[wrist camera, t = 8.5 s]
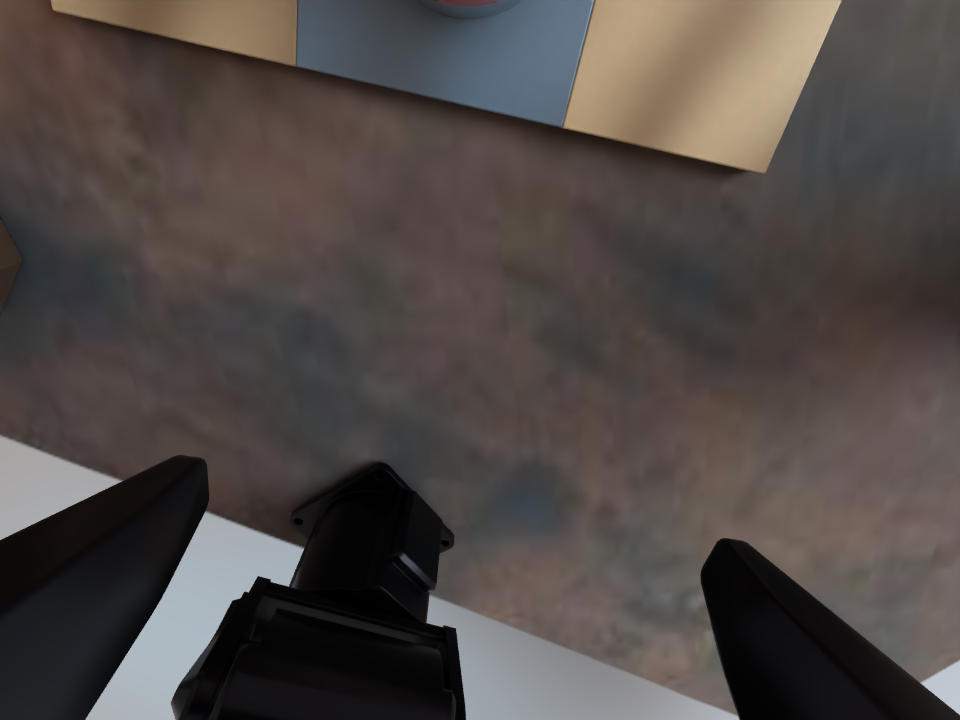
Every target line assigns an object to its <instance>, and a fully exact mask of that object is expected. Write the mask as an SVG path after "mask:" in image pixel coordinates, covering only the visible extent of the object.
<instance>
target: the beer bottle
mask: <svg viewBox="0 0 960 720" xmlns="http://www.w3.org/2000/svg"><path fill="white" fill-rule="evenodd" d="M22 260H23V259H22V257H21V255H20V253H19V251H18V249H17V247H16V246H15V244H14V242H13V240H12V238H11V236H10V234H9V233H8V231H7V229H6V227H5V225H4V223H3V221H2V219H1V218H0V313H1V311H2V310H3V308H4V306H5V303H6V301H7V298H8V295H9V293H10V290H11V288H12V285H13V283H14V280H15V278H16V275H17V272H18V270H19V267H20V265H21V262H22Z"/></svg>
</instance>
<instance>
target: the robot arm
mask: <svg viewBox="0 0 960 720" xmlns="http://www.w3.org/2000/svg"><path fill="white" fill-rule="evenodd" d="M378 472H383V473H384V475H380V474H379V473H378ZM208 501H209V487H208V472H207V464H206V462H205V460H204V459H202V458H198V457H191V456H185V455H177V456H174V457H172V458H170V459H168V460H166V461H164V462H162V463H159V464H157V465H155V466H153V467H151V468H149V469H147V470H145V471H143V472H141V473H139V474H137V475H135V476H132V477H130V478H128V479H126V480H124V481H122V482H120V483H118V484H116V485H114V486H112V487H110V488H108V489H105V490H103V491H101V492H99V493H97V494H95V495H93V496H91V497H89V498H87V499H85V500H83V501H81V502H79V503H77V504H74V505H72V506H70V507H68V508H66V509H64V510H62V511H60V512H58V513H56V514H54V515H52V516H50V517H47V518H45V519H43V520H41V521H39V522H37V523H35V524H33V525H31V526H29V527H27V528H25V529H22V530H20V531H18V532H16V533H14V534H12V535H10V536H8V537H6V538H4V539H2V540H0V720H85V719H86V717H87V716H88V714H89V713H90V711H91V710H92V708H93V706H94V705H95V703H96V702H97V700H98V698H99V697H100V695H101V694H102V692H103V691H104V689H105V688H106V686H107V684H108V683H109V681H110V680H111V678H112V676H113V675H114V673H115V672H116V670H117V668H118V667H119V665H120V664H121V662H122V661H123V659H124V657H125V656H126V654H127V653H128V651H129V650H130V648H131V646H132V645H133V643H134V642H135V640H136V639H137V637H138V635H139V634H140V632H141V631H142V629H143V628H144V626H145V624H146V623H147V621H148V620H149V618H150V616H151V615H152V613H153V612H154V610H155V608H156V607H157V605H158V603H159V602H160V600H161V598H162V596H163V594H164V592H165V591H166V589H167V587H168V585H169V583H170V581H171V579H172V577H173V575H174V573H175V571H176V569H177V567H178V565H179V563H180V561H181V558H182V557H183V555H184V553H185V551H186V549H187V547H188V545H189V543H190V541H191V539H192V537H193V535H194V533H195V531H196V528H197V527H198V525H199V523H200V521H201V519H202V517H203V515H204V513H205V511H206V508H207V505H208ZM299 518H301V519H299ZM289 522H290V524H291V525H292V526H293V527H294V528H295V529H296V530H297V531H299V532H300V533H301V534H302V535H303V536H304V537H305V538H307V539H308V541H307V544H306V546H305V548H304V551H303V553H302V556H301V558H300V561H299V563H298V565H297V568H296V570H295V573H294V575H293V578H292V580H291V583H290V585H289V587H288V586H284V585H279V584H276V583H272V582H271V580H270V579H267V578H263V577H259V576H258V577H257V579H256V581H255V582H254V584H253V586H252V588H251V590H250V591H249V593H248V592H244V593H243V595H242V597H241V598H240V599H237V600H234V601H232V603H231V604H230V607H229V608H228V610H227V612H226V614H225V616H224V618H223V620H222V622H221V624H220V626H219V628H218V630H217V631H216V633H215V635H214V637H213V638H212V640H211V641H210V643H209V644H208V646H207V647H206V649H205V650H204V652H203V653H202V654H201V655H200V657H199V658H198V660H197V661H196V662H195V664H194V665H193V666H192V668H191V669H190V670H189V672H188V673H187V675H186V676H185V677H184V679H183V680H182V681H181V683H180V684H179V686H178V688H177V690H176V692H175V694H174V696H173V699H172V701H171V706H172V709H173V713H174V716H175V719H176V720H466V712H465V701H464V693H463V685H462V676H461V668H460V660H459V651H458V643H457V634H456V628H451V627H448V626H443V627H439V626H436V625H431V624H428V623H426V622H427V612H428V602H429V594H430V591H432V590H434V589H435V587H436V583H437V573H438V563H439V554H440V553H442V552H444V551H446V550H448V549H450V548H451V547H453V545H454V535H453V533H452V532H451V531H450V530H449V529H448V528H447V527H446V526H445V525H444V524H443V522H442V519H441V518H440V517H439V516H438V515H437V514H436V513H435V512H434V511H433V510H432V509H431V508H430V507H429V506H428V505H427V503H426V502H425V501H424V500H423V499H422V498H421V497H420V496H419V495H418V494H417V493H416V492H415V491H413V490H411V488H410V487H409V486H408V485H407V484H406V483H405V482H404V481H403V480H402V479H401V478H400V477H399V476H398V475H397V474H396V473H395V471H394V470H393V469H392V468H391V467H390V466H388V465H387V464H384V463H378V464H375V465H374V466H372V467H370V468H368V469H367V470H365V471H363V472H361V473H359V474H358V475H356V476H354V477H352V478H351V479H349V480H347V481H345V482H343V483H342V484H340V485H338V486H336V487H335V488H333V489H331V490H329V491H327V492H326V493H324V494H322V495H320V496H319V497H317V498H315V499H313V500H311V501H310V502H308V503H306V504H304V505H303V506H301V507H299V508H297V509H295V510H294V511H293V512H292V514H291V516H290V518H289ZM444 539H445V540H446V541H445V540H444ZM701 585H702V589H703V593H704V597H705V601H706V605H707V609H708V613H709V617H710V621H711V625H712V629H713V633H714V637H715V641H716V646H717V650H718V654H719V657H720V661H721V665H722V668H723V672H724V675H725V678H726V681H727V684H728V687H729V690H730V693H731V696H732V699H733V702H734V705H735V708H736V711H737V713H738V716H739V719H740V720H960V715H959V714H958V713H956V712H955V711H954V710H953V709H951V708H950V707H949V706H948V705H946V704H945V703H944V702H943V701H941V700H940V699H939V698H938V697H937V696H935V695H934V694H933V693H932V692H930V691H929V690H928V689H927V688H925V687H924V686H923V685H922V684H921V683H919V682H918V681H917V680H916V679H914V678H913V677H912V676H911V675H909V674H908V673H907V672H906V671H905V670H903V669H902V668H901V667H900V666H898V665H897V664H896V663H895V662H893V661H892V660H891V659H890V658H889V657H887V656H886V655H885V654H884V653H882V652H881V651H880V650H879V649H877V648H876V647H875V646H874V645H872V644H871V643H870V642H869V641H868V640H866V639H865V638H864V637H863V636H861V635H860V634H859V633H858V632H856V631H855V630H854V629H853V628H852V627H850V626H849V625H848V624H847V623H845V622H844V621H843V620H842V619H840V618H839V617H838V616H837V615H835V614H834V613H833V612H832V611H831V610H829V609H828V608H827V607H826V606H824V605H823V604H822V603H821V602H819V601H818V600H817V599H816V598H815V597H813V596H812V595H811V594H810V593H808V592H807V591H806V590H805V589H803V588H802V587H801V586H800V585H798V584H797V583H796V582H795V581H794V580H792V579H791V578H790V577H789V576H787V575H786V574H785V573H784V572H782V571H781V570H780V569H779V568H778V567H776V566H775V565H774V564H773V563H771V562H770V561H769V560H768V559H766V558H765V557H764V556H763V555H762V554H760V553H759V552H758V551H757V550H755V549H754V548H753V547H752V546H750V545H749V544H748V543H746V542H744V541H741V540H735V539H729V538H722V539H720V540H719V541H718V542H717V543H716V544H715V546H714V548H713V550H712V551H711V553H710V555H709V556H708V558H707V560H706V562H705V563H704V565H703V567H702V570H701Z"/></svg>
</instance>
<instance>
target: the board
mask: <svg viewBox="0 0 960 720" xmlns="http://www.w3.org/2000/svg"><path fill="white" fill-rule="evenodd" d="M840 3H841V0H522V1H521V2H520V3H518V4H517V5H515V6H514V7H512V8H509V9H507V10H505V11H503V12H501V13H498V14H495V15H492V16H489V17H483V18H476V19H462V18H456V17H450V16H446V15H443V14H440V13H437V12H434V11H432V10H430V9H428V8H426V7H424V6H423V5H421V4H420V3H418V2H417V1H415V0H51V5H52V9H53V10H54V11H56V12H60V13H64V14H68V15H72V16H76V17H80V18H84V19H89V20H93V21H97V22H102V23H106V24H110V25H115V26H119V27H123V28H128V29H132V30H136V31H141V32H145V33H149V34H154V35H158V36H163V37H167V38H171V39H176V40H180V41H184V42H189V43H193V44H197V45H202V46H206V47H210V48H215V49H219V50H223V51H228V52H232V53H236V54H241V55H245V56H249V57H254V58H258V59H263V60H267V61H271V62H276V63H280V64H284V65H289V66H293V67H297V68H302V69H306V70H310V71H315V72H319V73H323V74H328V75H332V76H336V77H341V78H345V79H349V80H354V81H358V82H363V83H367V84H371V85H376V86H380V87H384V88H389V89H393V90H397V91H402V92H406V93H410V94H415V95H419V96H423V97H428V98H432V99H436V100H441V101H445V102H449V103H454V104H458V105H463V106H467V107H471V108H476V109H480V110H484V111H489V112H493V113H497V114H502V115H506V116H510V117H515V118H519V119H523V120H528V121H532V122H536V123H541V124H545V125H549V126H554V127H560V128H562V129H567V130H571V131H576V132H580V133H584V134H589V135H593V136H597V137H602V138H606V139H610V140H615V141H619V142H623V143H628V144H632V145H636V146H641V147H645V148H649V149H654V150H658V151H662V152H667V153H671V154H676V155H680V156H684V157H689V158H693V159H697V160H702V161H706V162H710V163H715V164H719V165H723V166H728V167H732V168H736V169H741V170H745V171H749V172H755V173H760V174H765V172H766V170H767V168H768V166H769V163H770V161H771V159H772V157H773V154H774V152H775V150H776V147H777V145H778V143H779V141H780V138H781V136H782V134H783V132H784V129H785V127H786V125H787V123H788V120H789V118H790V116H791V114H792V111H793V109H794V107H795V104H796V102H797V100H798V98H799V95H800V93H801V91H802V89H803V86H804V84H805V82H806V80H807V77H808V75H809V73H810V70H811V68H812V66H813V64H814V61H815V59H816V57H817V55H818V52H819V50H820V48H821V46H822V43H823V41H824V39H825V36H826V34H827V32H828V30H829V27H830V25H831V23H832V21H833V18H834V16H835V14H836V12H837V9H838V7H839V5H840Z"/></svg>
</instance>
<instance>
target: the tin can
mask: <svg viewBox="0 0 960 720" xmlns="http://www.w3.org/2000/svg"><path fill="white" fill-rule="evenodd" d="M415 1H417V2H418V3H420V4H421V5H423V6H424V7H426V8H428V9H430V10H432V11H434V12H437V13H440V14H443V15H446V16H450V17H456V18H462V19H476V18H483V17H489V16H492V15H495V14H498V13H501V12H503V11H505V10H507V9H509V8H512V7H514V6H515V5H517V4H518V3H520V2H521V1H522V0H415Z"/></svg>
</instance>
